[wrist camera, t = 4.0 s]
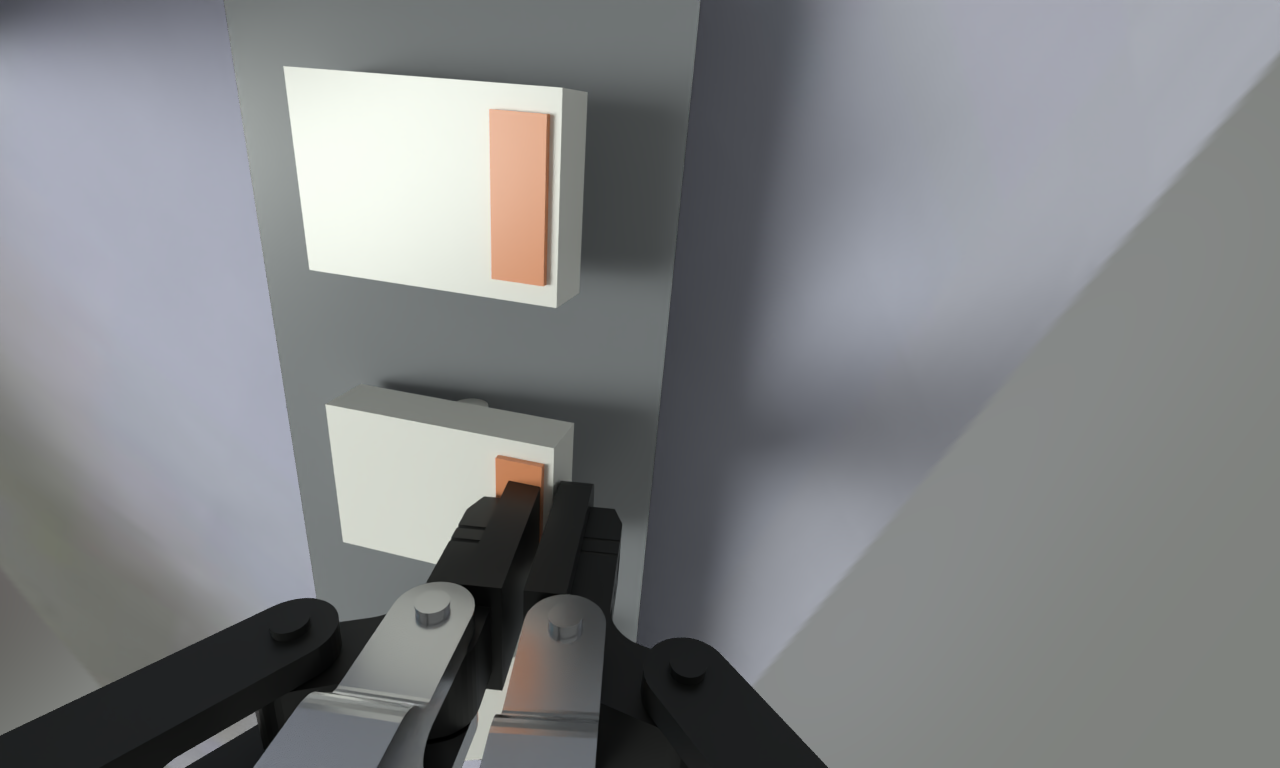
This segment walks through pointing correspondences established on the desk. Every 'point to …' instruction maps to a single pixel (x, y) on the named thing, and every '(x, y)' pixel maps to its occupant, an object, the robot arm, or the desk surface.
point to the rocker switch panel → (467, 324)
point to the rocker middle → (433, 465)
